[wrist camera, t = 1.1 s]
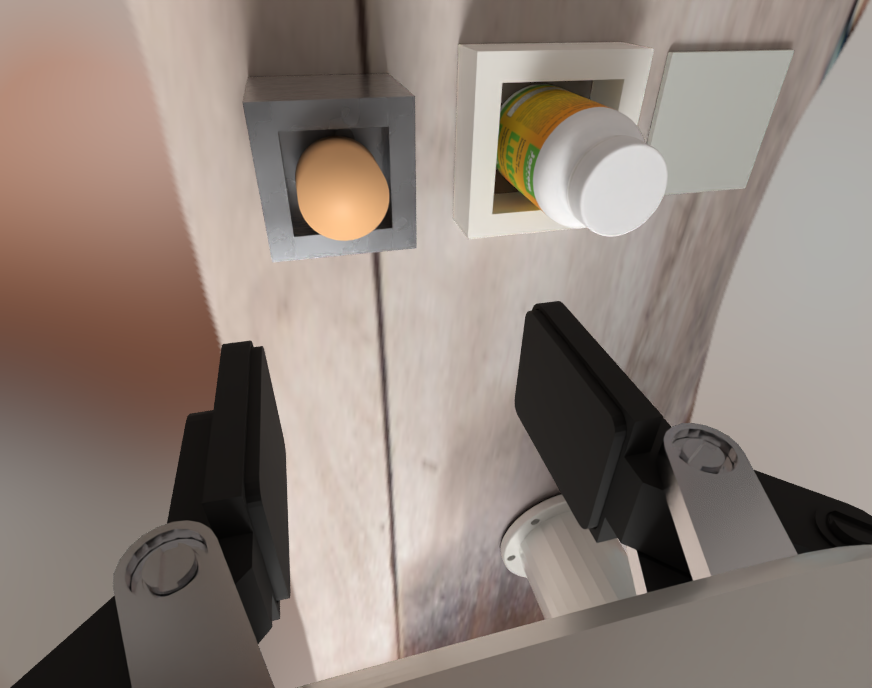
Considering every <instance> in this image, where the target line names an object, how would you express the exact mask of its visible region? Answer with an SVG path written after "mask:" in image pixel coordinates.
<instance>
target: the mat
mask: <svg viewBox="0 0 872 688" xmlns="http://www.w3.org/2000/svg"><path fill="white" fill-rule="evenodd" d="M794 51H795V50H742V51H691V52H668V56H667V60H666V65H665V69H664V73H663V77H662V82H661V86H660V90H659V94H658V98H657V103H656V107H655V111H654V115H653V120H652V124H651V128H650V132H649V137H648V141H647V144H649V145H651V146H653V147H654V148H655V149H657V150H658V151H659V152H660V153H661V154H662V156H663V158H664V160H665V162H666V165H667V171H668V180H667V186H666V190H665V193H664V195H674V194H685V193H697V192H709V191H720V190H732V189H744V188H746V185H747V182H748V180H749V177H750V174H751V171H752V168H753V166H754V163H755V160H756V157H757V154H758V152H759V149H760V146H761V143H762V140H763V138H764V135H765V132H766V129H767V126H768V124H769V121H770V118H771V115H772V112H773V110H774V107H775V104H776V101H777V98H778V96H779V93H780V90H781V87H782V84H783V82H784V79H785V76H786V73H787V70H788V68H789V65H790V62H791V59H792V56H793V54H794Z"/></svg>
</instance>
